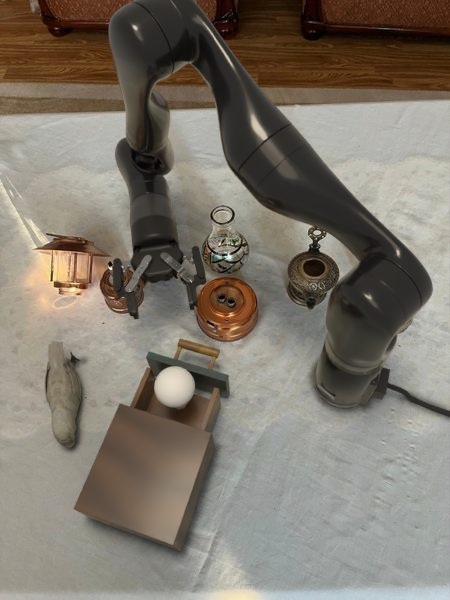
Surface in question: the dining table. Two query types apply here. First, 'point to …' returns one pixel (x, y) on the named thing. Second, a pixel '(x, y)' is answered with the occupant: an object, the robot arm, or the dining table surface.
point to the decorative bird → (62, 393)
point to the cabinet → (148, 476)
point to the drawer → (208, 380)
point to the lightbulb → (174, 387)
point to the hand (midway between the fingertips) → (163, 312)
